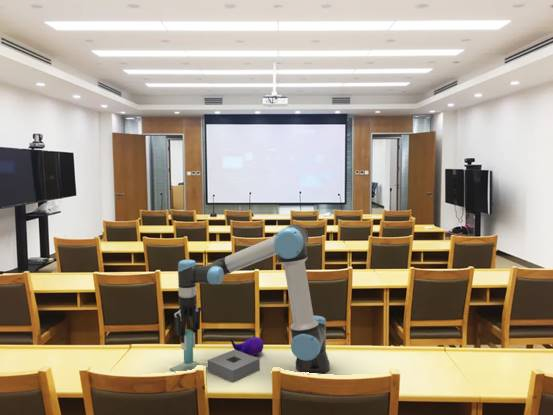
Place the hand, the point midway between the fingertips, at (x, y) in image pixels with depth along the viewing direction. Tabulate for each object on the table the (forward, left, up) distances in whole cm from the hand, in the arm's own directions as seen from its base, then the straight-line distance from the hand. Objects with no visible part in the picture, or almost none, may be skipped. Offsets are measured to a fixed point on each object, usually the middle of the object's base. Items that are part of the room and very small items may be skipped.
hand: (188, 347), depth 206 cm
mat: (0, 0, -10) cm, 10 cm away
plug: (0, 0, -7) cm, 7 cm away
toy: (-8, -28, -10) cm, 31 cm away
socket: (-16, -12, -10) cm, 22 cm away
